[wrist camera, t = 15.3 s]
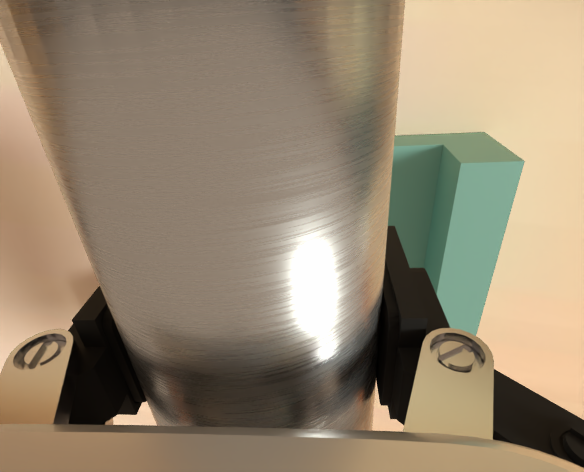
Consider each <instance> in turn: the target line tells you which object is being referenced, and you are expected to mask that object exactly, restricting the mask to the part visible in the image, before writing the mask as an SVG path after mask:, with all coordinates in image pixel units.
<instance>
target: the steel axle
mask: <svg viewBox="0 0 584 472" xmlns="http://www.w3.org/2000/svg"><path fill="white" fill-rule="evenodd" d="M404 8H405V0H0V43H1V46H2V48H3V51H4V53H5V55H6V58H7V60H8V63H9V65H10V68H11V70H12V72H13V75H14V77H15V80H16V82H17V85H18V87H19V90H20V92H21V94H22V97H23V99H24V102H25V104H26V107H27V109H28V112H29V114H30V116H31V119H32V121H33V124H34V126H35V129H36V131H37V134H38V136H39V138H40V141H41V143H42V146H43V148H44V151H45V153H46V155H47V158H48V160H49V163H50V165H51V168H52V170H53V173H54V175H55V177H56V180H57V182H58V185H59V187H60V190H61V192H62V195H63V197H64V199H65V202H66V204H67V207H68V209H69V212H70V214H71V216H72V219H73V221H74V224H75V226H76V229H77V231H78V234H79V236H80V238H81V241H82V243H83V246H84V248H85V251H86V253H87V256H88V258H89V260H90V263H91V265H92V268H93V270H94V273H95V275H96V277H97V280H98V282H99V285H100V287H101V290H102V292H103V295H104V297H105V299H106V302H107V304H108V307H109V309H110V312H111V314H112V317H113V319H114V321H115V324H116V326H117V329H118V331H119V334H120V336H121V338H122V341H123V343H124V346H125V348H126V351H127V353H128V356H129V358H130V360H131V363H132V365H133V368H134V370H135V373H136V375H137V378H138V380H139V382H140V385H141V387H142V390H143V392H144V395H145V397H146V400H147V402H148V404H149V407H150V409H151V412H152V414H153V417H154V419H155V421H156V424H157V426H199V427H248V428H290V429H330V430H368V431H372V423H373V410H374V397H375V384H376V371H377V358H378V345H379V332H380V319H381V306H382V293H383V280H384V267H385V254H386V241H387V228H388V215H389V203H390V190H391V177H392V164H393V151H394V138H395V125H396V112H397V99H398V86H399V73H400V60H401V47H402V34H403V21H404Z"/></svg>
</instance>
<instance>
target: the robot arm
mask: <svg viewBox="0 0 584 472" xmlns="http://www.w3.org/2000/svg"><path fill="white" fill-rule="evenodd" d="M72 322H73V325H72V326H71V328H70V329H69V330H68V331H66V330H63V329H54V330H47V331H44V332H41V333H38V334H36V335H34V336H32V337H30V338H28V339H26V340H25V341H23V342H22V343H21V344H19V345H18V346H17V347H16V348H15V349H14V350H13V351H12V352H11V353H10V355H9V356H8V358H7V360H6V362H5V364H4V366H3V369H2V371H1V373H0V472H584V420H583V419H581V418H579V417H577V416H576V415H574V414H572V413H570V412H569V411H567V410H565V409H563V408H561V407H560V406H558V405H556V404H554V403H553V402H551V401H549V400H547V399H546V398H544V397H542V396H540V395H539V394H537V393H535V392H533V391H532V390H530V389H528V388H526V387H525V386H523V385H521V384H519V383H518V382H516V381H514V380H512V379H510V378H509V377H507V376H505V375H503V374H502V373H500V372H498V371H496V370H495V369H494V360H493V355H492V352H491V351H490V349H489V347H488V346H487V345H486V344H485V343H484V342H483V341H482V340H481V339H480V338H478V337H476V336H475V335H473V334H471V333H469V332H466V331H463V330H460V329H454V328H450V326H449V323H448V321H447V318H446V316H445V314H444V311H443V309H442V307H441V304H440V302H439V300H438V297H437V295H436V292H435V290H434V288H433V285H432V283H431V281H430V278H429V276H428V274H427V271H426V270H425V268H410V267H409V264H408V261H407V258H406V256H405V253H404V250H403V247H402V245H401V242H400V239H399V236H398V234H397V231H396V228H395V226H388V228H387V241H386V254H385V267H384V280H383V293H382V306H381V319H380V332H379V345H378V358H377V371H376V380H377V387H378V393H379V399H380V404H381V405H388V409H389V414H390V419H397V420H398V421H399V422H400V423H402V424H403V425H404V429H403V432H392V431H368V430H330V429H290V428H248V427H199V426H145V425H113V417H115V416H116V415H117V414H128V415H136V414H137V412H138V410H139V408H140V406H141V403H142V402H146V401H147V400H146V397H145V395H144V392H143V390H142V387H141V385H140V382H139V380H138V378H137V375H136V373H135V370H134V368H133V365H132V363H131V360H130V358H129V356H128V353H127V351H126V348H125V346H124V343H123V341H122V338H121V336H120V334H119V331H118V329H117V326H116V324H115V321H114V319H113V317H112V314H111V312H110V309H109V307H108V304H107V302H106V299H105V297H104V295H103V292H102V290H101V287H100V286H99V287H98V288H97V290H96V291H95V292H94V293H93V294H92V296H91V297H90V298H89V299H88V301H87V302H86V303H85V304H84V306H83V307H82V308H81V309H80V311H79V312H78V313H77V314H76V316H75V317H74V318H73V319H72Z"/></svg>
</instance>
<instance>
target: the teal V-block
mask: <svg viewBox="0 0 584 472" xmlns="http://www.w3.org/2000/svg"><path fill="white" fill-rule="evenodd" d="M523 165H524V160H522V159H521V158H520V157H518V156H517V155H515V154H514V153H513V152H511V151H510V150H508V149H507V148H506V147H504V146H503V145H502V144H500V143H499V142H497V141H496V140H495V139H493V138H492V137H490V136H489V135H488V134H486V133H485V132H477V133H452V134H427V135H402V136H395V138H394V151H393V164H392V177H391V190H390V203H389V215H388V226H395V228H396V231H397V234H398V236H399V239H400V242H401V245H402V247H403V250H404V253H405V256H406V258H407V261H408V264H409V267H410V268H425V270H426V271H427V274H428V276H429V278H430V281H431V283H432V285H433V288H434V290H435V292H436V295H437V297H438V300H439V302H440V304H441V307H442V309H443V311H444V314H445V316H446V318H447V321H448V323H449V326H450V328H454V329H460V330H463V331H466V332H469V333H471V334H473V335H475V336H476V333H477V330H478V326H479V323H480V319H481V315H482V312H483V308H484V305H485V301H486V298H487V294H488V290H489V287H490V283H491V280H492V276H493V272H494V269H495V265H496V262H497V258H498V254H499V251H500V247H501V244H502V240H503V237H504V233H505V229H506V226H507V222H508V219H509V215H510V211H511V208H512V204H513V201H514V197H515V193H516V190H517V186H518V183H519V179H520V176H521V172H522V168H523Z"/></svg>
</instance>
